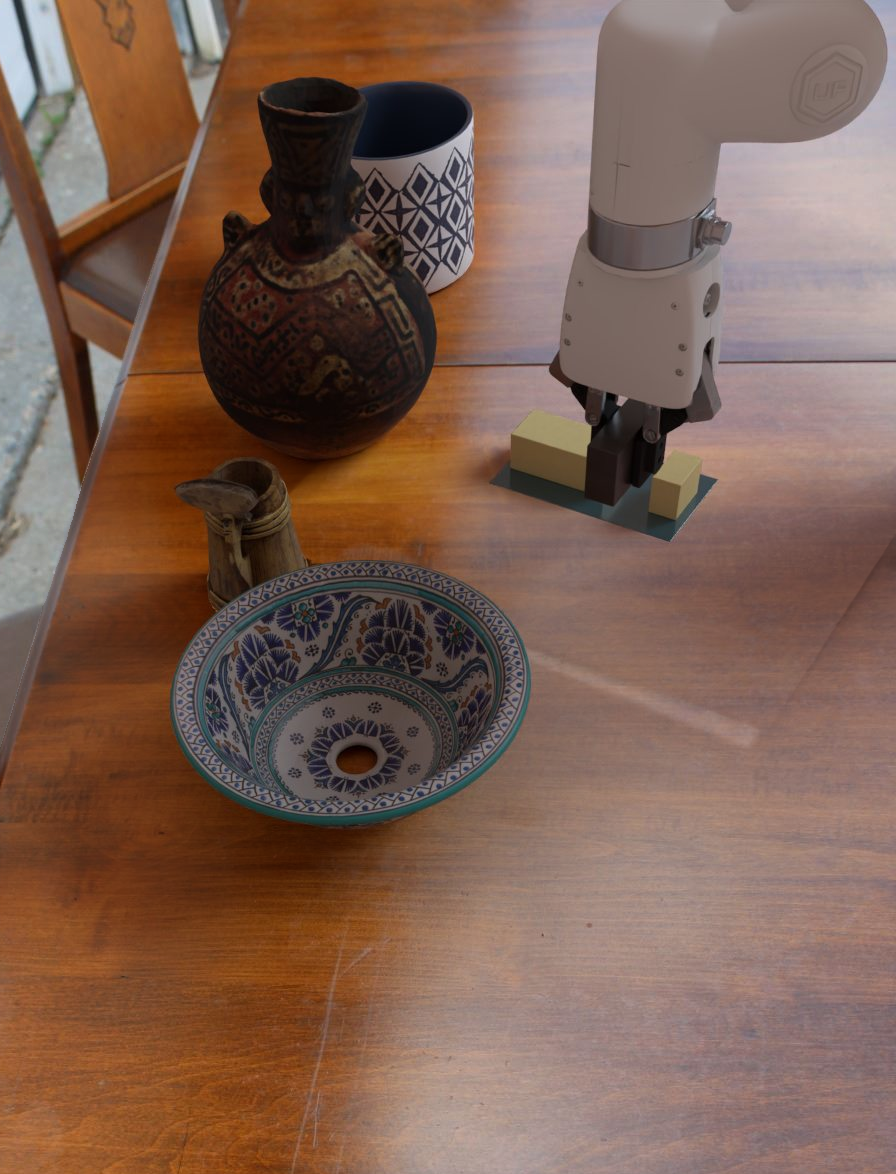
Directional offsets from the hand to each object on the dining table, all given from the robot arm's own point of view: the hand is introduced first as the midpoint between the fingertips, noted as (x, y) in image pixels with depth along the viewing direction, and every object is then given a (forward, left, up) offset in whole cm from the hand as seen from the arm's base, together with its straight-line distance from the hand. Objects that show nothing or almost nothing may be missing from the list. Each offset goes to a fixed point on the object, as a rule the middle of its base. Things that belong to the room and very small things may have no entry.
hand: (625, 468), depth 98 cm
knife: (-5, -2, 0) cm, 5 cm away
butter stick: (-7, -13, -11) cm, 18 cm away
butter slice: (-10, -4, -11) cm, 15 cm away
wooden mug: (+23, -18, -12) cm, 32 cm away
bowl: (+27, +2, -12) cm, 30 cm away
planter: (-18, -52, -12) cm, 56 cm away
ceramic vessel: (+5, -33, -12) cm, 35 cm away
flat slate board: (-8, -10, -12) cm, 17 cm away
